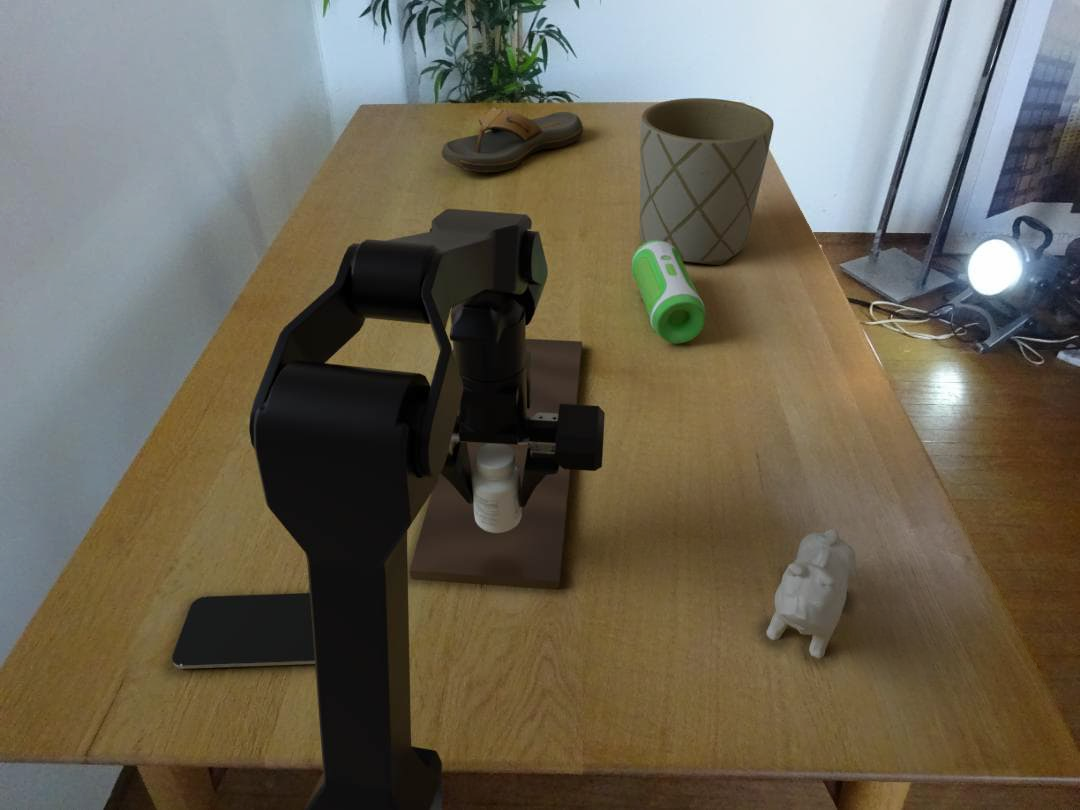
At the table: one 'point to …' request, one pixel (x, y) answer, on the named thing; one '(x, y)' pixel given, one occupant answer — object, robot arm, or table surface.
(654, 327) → the speaker
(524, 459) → the shelf board
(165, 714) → the table surface
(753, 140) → the planter
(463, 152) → the sandal
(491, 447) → the pill bottle
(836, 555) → the dog figurine
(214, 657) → the smartphone
